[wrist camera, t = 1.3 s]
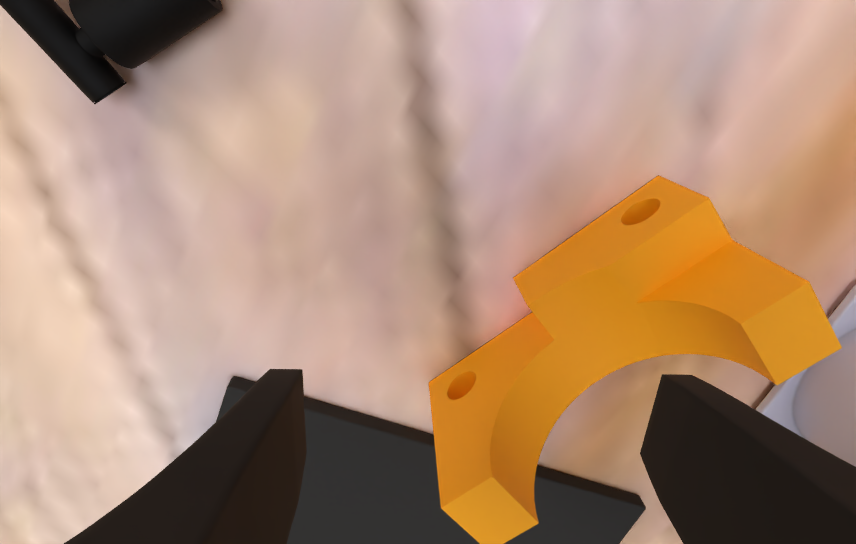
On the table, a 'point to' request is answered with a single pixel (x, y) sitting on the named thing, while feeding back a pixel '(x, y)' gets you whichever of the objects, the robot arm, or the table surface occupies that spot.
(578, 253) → the pipe clamp
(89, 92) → the light fixture
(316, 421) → the mat
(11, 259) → the table surface
